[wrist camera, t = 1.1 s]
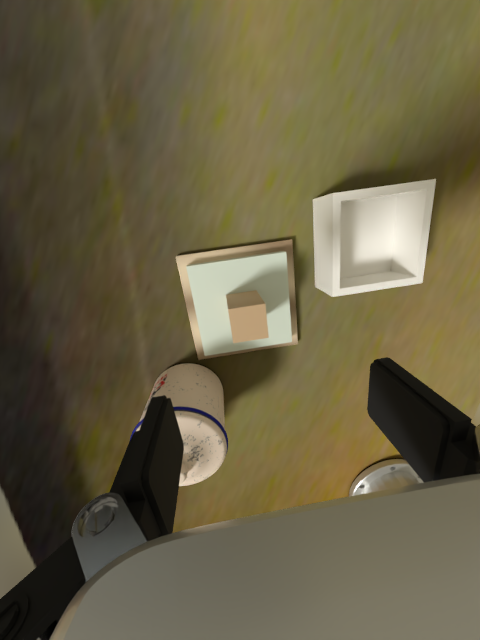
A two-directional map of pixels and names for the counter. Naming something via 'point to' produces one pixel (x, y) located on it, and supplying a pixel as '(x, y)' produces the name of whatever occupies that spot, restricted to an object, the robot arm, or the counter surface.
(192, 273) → the lid
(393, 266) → the white open square tray
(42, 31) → the counter surface
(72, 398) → the counter surface
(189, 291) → the mat
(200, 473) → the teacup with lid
